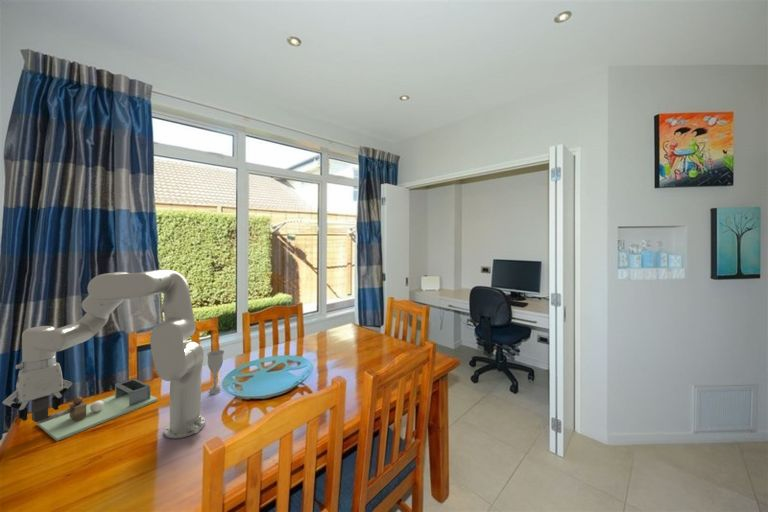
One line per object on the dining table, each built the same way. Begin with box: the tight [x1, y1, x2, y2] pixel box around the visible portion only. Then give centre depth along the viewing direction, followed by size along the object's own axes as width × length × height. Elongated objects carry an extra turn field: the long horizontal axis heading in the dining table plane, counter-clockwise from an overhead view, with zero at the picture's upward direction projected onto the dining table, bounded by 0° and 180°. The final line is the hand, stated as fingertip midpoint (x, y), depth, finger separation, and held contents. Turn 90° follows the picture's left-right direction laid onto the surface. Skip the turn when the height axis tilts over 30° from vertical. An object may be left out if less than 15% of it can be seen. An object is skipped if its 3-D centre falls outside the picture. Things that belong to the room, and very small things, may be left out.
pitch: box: [36, 394, 159, 442], centre depth 117 cm, size 18×30×1 cm, turn 153°
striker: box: [31, 396, 87, 424], centre depth 106 cm, size 5×12×12 cm, turn 153°
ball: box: [90, 400, 104, 412], centre depth 115 cm, size 4×4×4 cm
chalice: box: [206, 349, 225, 395], centre depth 135 cm, size 7×7×18 cm
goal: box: [114, 378, 151, 406], centre depth 126 cm, size 13×7×7 cm, turn 63°
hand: (40, 413), depth 102 cm, fingers open, 6 cm apart
